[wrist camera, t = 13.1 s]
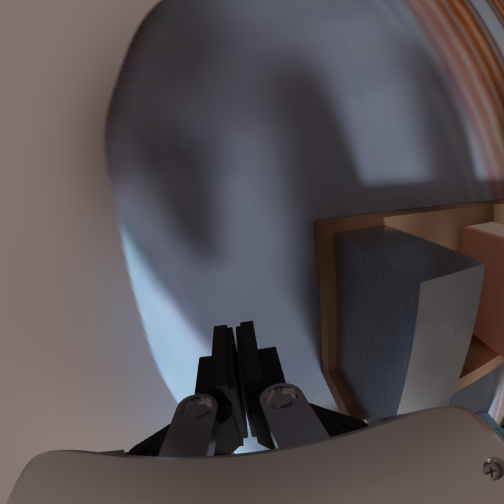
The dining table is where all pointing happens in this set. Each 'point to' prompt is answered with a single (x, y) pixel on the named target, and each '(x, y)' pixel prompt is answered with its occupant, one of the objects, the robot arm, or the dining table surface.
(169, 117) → the dining table surface
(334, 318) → the shelf
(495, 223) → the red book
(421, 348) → the bookend
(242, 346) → the robot arm
